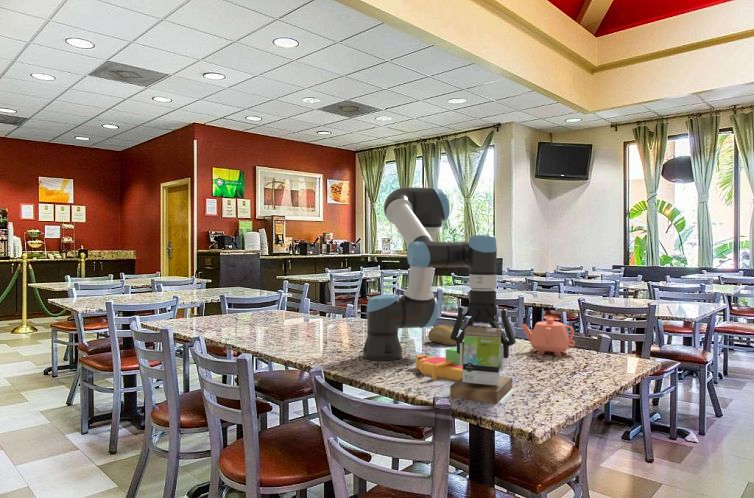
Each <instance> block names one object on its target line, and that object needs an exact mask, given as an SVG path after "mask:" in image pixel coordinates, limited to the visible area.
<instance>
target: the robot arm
mask: <svg viewBox="0 0 754 498" xmlns="http://www.w3.org/2000/svg"><path fill="white" fill-rule="evenodd" d="M450 210H451V209H450V200H449V198H448V195H447V193H446V191H444V190H443V189H442V188H437V187H410V186H409V187H408V186H407V187H405V186H404V187H399V188H397V189H395V190H393V191H391V192H390V193H389V194H388V196H387V197H386V199H385V201H384V203H383V212H384V215H385V217H386V219H387V221H389V223H391V224H393V225H394V226H395V228H396V229H397V231H398V232H399V234H400V235H401V237H402V239H403V241H404V242H405V244H406V246H407V247H406V248H407V249H406V259H407V263H408V264H409V277H408V287H407V288H406V289H405V290H404V291H403V294H402V295H403V297H399V295H398V294H397V293H390V294H388V293H386V294H379V295H375V296H371V297H370V298H368V300H367V307H366V312H367V314H366V315H367V320H366V321H367V322H366V324H367V325H366V326H367V327H366V329H367V330H366V331H367V333H366V334H367V335H366V339H365V343H364V346H363V348H362V358H364V359H366V360H371V361H382V362H383V361H385V362H386V361H395V360H400V359H402V358H403V347H402V345H401V342H400V340H399V329H418V328H420V329H423V328H428V327H433V325H434V324H435V322H436V321H437V318H438V315H439V302H438V299H437V298H436V297H434V296H435V295H434V293H433V291H432V290H431V289H432V280H433V273H434V271H433V269H434V268H469V273H468V274H469V277H468V279H469V281H468V282H469V283H468V284H469V285H468V287H469V288H470V290H469V292H468V293H469V294H468V296H469V297H468V298H469V299H468V306H459V307H458V308H457V316H456V319H455V323H454V325H453V331H452V334H451V337H450V338H451V339H452V340H455V341H456V342H457V345H456V348H457V353H460V366H463V354H464V331H465V328H466V327H467V326H472V325H473V324H476V323H477V324H480V323H482V324H490V326H492V328H497V329H499V328H500V327H499V325H500V324H498V321H497V320H496V318H495V316H496V315H497V314H498V316H499V317H500V318H501V322H502V325H503V327H504V331H505V333H504V331H503V330H501V351H500V371H504V370H505V369H506V359H508V358H509V356H510V355H509V353H510V346H513V345H515V344H516V342H517V341H516V338H515V336H514V335H515V334H514V331H513V329H512V326H511V323H510V321H509V317H508V315H509V310H508V309H507V308H504V309H503V308H498V307H497V291H496V289H497V261H498V260H497V255H498V254H497V253H498V247H497V238H496V236H495V235H493V234H472V235H470V237H469V241H437V235H438V230H439V229H441V228H442V227H443V226H442V225H443V222H444V221H447V220H448V219H449V216H450ZM467 313H469V315H470V317H469V320H468V321H467V322H466V324H465V326H464V327H463V329H462V330H461V332H460V333H459V331H460V329H461V326H462V323H463V321H464V319H465V315H466V314H467ZM457 335H458V336H457ZM506 336H507V337H506Z"/></svg>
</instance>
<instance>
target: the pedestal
mask: <svg viewBox="0 0 754 498" xmlns="http://www.w3.org/2000/svg"><path fill="white" fill-rule="evenodd" d="M449 387H450V396H449V397H450V398H457V399H463V400H471V401H479V402H483V403H491V404H499V403H498V402H499V401H500V400H501V399H502V398H503V397H504V396H505V395H506V394H507V393H508V392H509V391H510V390H511V388H513V377H511V376H510V377H509V376H501V375H500V377H499V383H498V385H487V384H475V383H467V382H462V378H461V379H459V380H458V381H457V380H455V382H453V384H451V385H449Z"/></svg>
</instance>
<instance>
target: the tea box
mask: <svg viewBox="0 0 754 498" xmlns="http://www.w3.org/2000/svg"><path fill="white" fill-rule="evenodd" d="M498 325H499V327H500V328H499V329H497V328H492V326H490V324H489V323H474V324H473V325H472V326H467V327H466V328H465V331H464V339H463V342H464V354H463V374H462V382H467V383H475V384H487V385H498V383H499V377H500V376H501V370H500V351H501V346H502V343H501V330H502V325H500V324H498ZM502 331H503V330H502Z"/></svg>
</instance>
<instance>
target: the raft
mask: <svg viewBox="0 0 754 498" xmlns="http://www.w3.org/2000/svg"><path fill="white" fill-rule="evenodd" d="M415 361H416V362H415V368H416V370H417V371H419V372H420V373H421V374H422V375H423V376H427V375H428V376H431V380H432V381H437V380H438V377H439V378H441V379H447V380H453V381H458V380H459V379H461V378H462V374H463V366H460V353H457V347H449V348H446V349H445V356H427V355H425V354H421V355H418V354H416V359H415Z"/></svg>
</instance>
